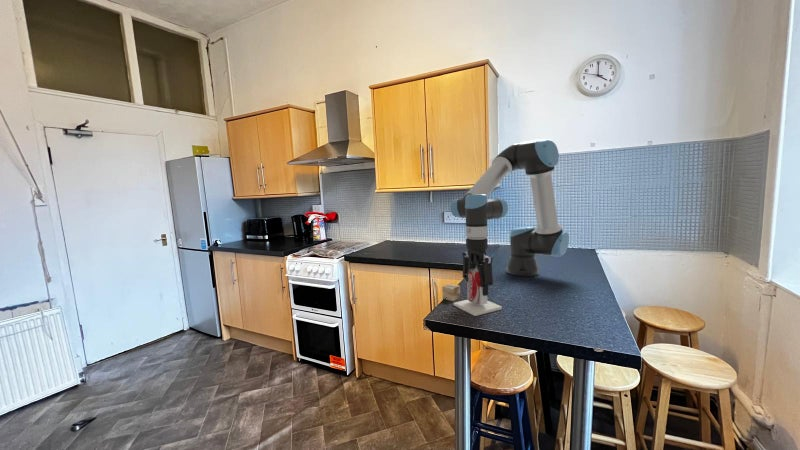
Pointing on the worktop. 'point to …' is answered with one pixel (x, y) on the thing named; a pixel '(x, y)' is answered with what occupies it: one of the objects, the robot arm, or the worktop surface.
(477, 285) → the beverage can
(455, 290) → the oak block
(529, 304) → the worktop surface
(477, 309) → the tile
